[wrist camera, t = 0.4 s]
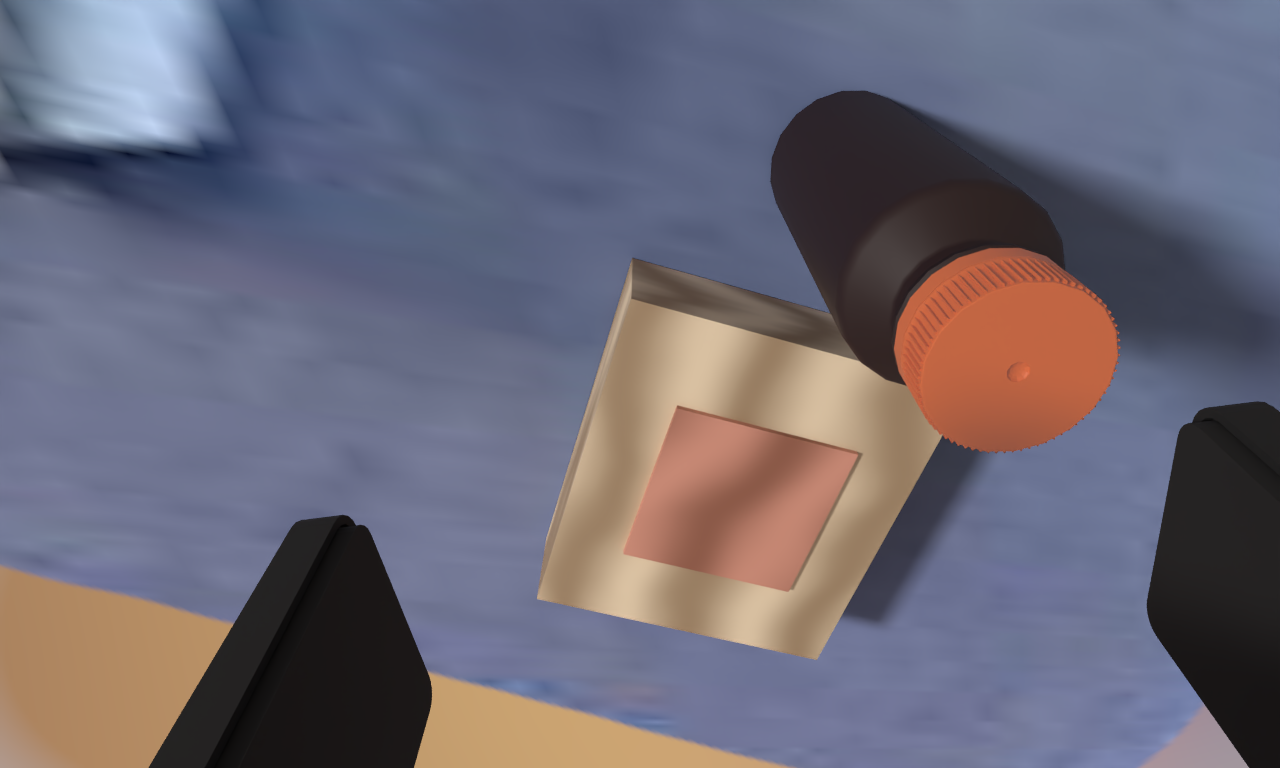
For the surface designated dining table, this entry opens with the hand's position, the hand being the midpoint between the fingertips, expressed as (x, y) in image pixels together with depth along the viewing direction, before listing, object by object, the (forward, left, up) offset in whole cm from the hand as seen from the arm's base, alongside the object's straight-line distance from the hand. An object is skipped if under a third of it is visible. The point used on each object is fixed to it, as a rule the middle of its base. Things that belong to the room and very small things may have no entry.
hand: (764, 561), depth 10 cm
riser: (-8, +17, -30) cm, 36 cm away
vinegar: (-8, +1, -31) cm, 32 cm away
